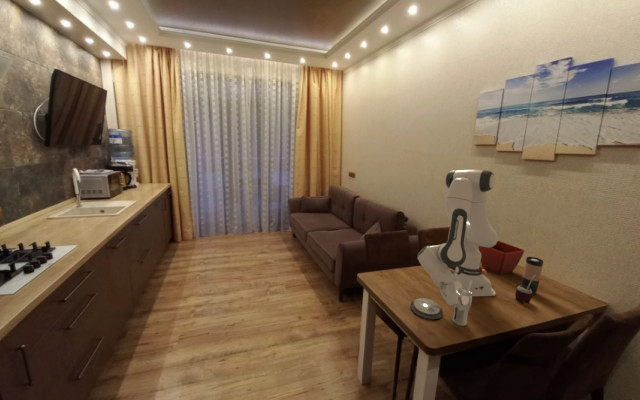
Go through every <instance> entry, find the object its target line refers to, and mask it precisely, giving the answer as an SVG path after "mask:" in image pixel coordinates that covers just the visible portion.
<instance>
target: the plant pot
mask: <svg viewBox="0 0 640 400" xmlns="http://www.w3.org/2000/svg"><path fill="white" fill-rule="evenodd" d="M478 250H479V251H480V253H481V261H480V265H481V268H483V269H485V270H488V271H490V272H492V273H495V274H497V275H500V276H501V275H503V274H504V275H505V274H510V273H512V272H513V271H514V270H515V269H516V268H517V266H518V264H519V263H520V261H521V260H522V257H523V255H524V252H525V249H522V248H519V247H517V246H514V245H512V244H509V243H506V242H504V241H500V240H498V241H497V243H496V244H495V245H494V246H493V247H491V248H487V247H482V246H479V245H478Z"/></svg>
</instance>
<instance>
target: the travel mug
mask: <svg viewBox="0 0 640 400" xmlns="http://www.w3.org/2000/svg"><path fill="white" fill-rule="evenodd" d="M525 259H526V260H525V263H524V269H523V274H522V278H521V282H520V283H521V285H522V286H527V287H528V285H529V283H530V281H531V279H532V278H533V277H534V276H535V275H536V276H535V277H534V278H533V280H532V282H531V284H530V286H529V288H530V289H531V290H532V296H536V295H537V290H538V287H539V284H540V280H541V275H542V271H543V265H544V260H543V259H541V258H539V257H535V256H527V257H526V258H525Z"/></svg>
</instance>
